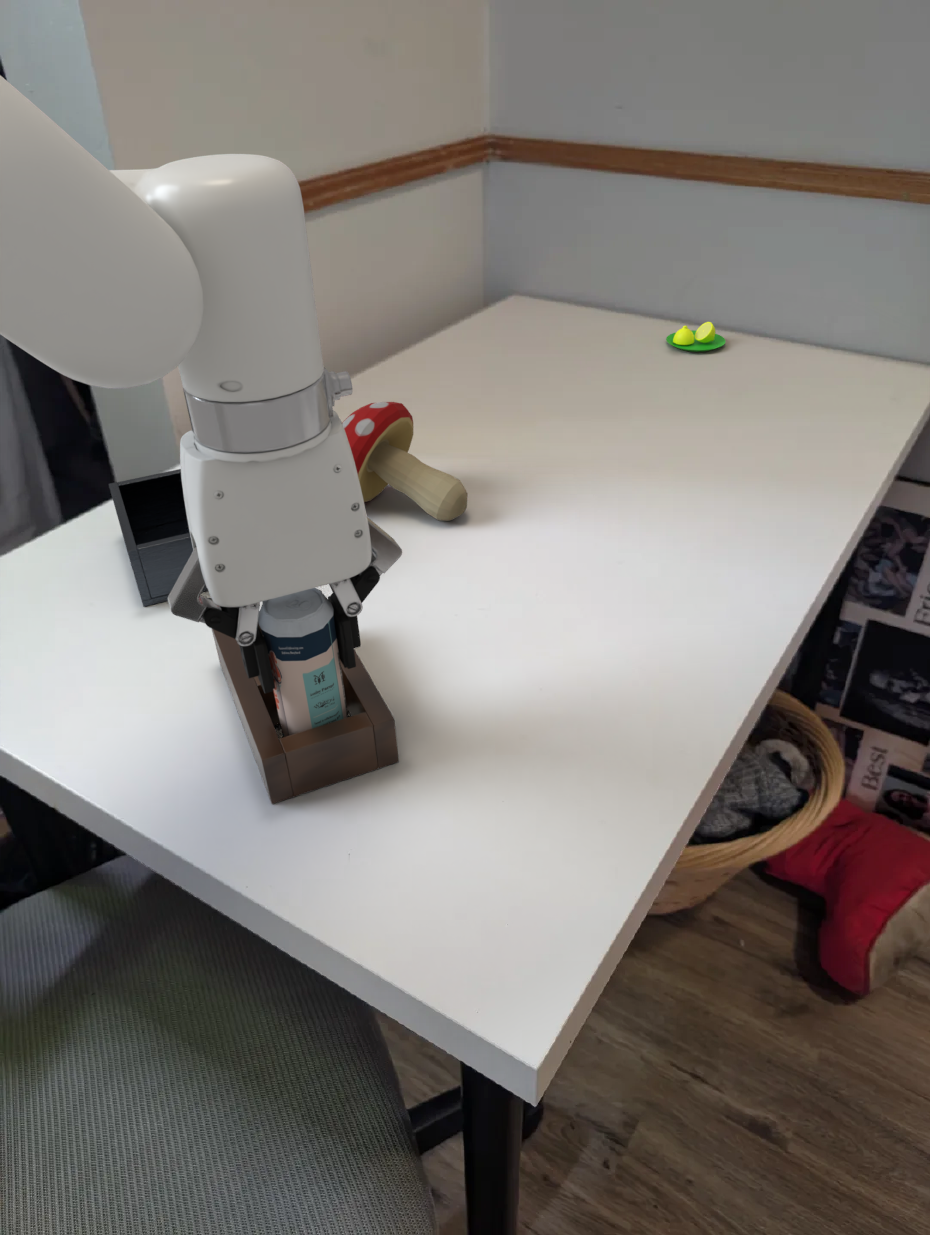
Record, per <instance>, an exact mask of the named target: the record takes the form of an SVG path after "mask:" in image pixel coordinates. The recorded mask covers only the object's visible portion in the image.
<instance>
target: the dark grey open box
mask: <svg viewBox="0 0 930 1235" xmlns="http://www.w3.org/2000/svg"><path fill="white" fill-rule="evenodd" d="M108 488H109V491H110V494H111V499H112V502H113V505H114V509H115V512H116V516H117V519H118V523H119V527H120V531H121V533H122V534H121V535H122V538H123V542H124V545H125V548H126V551H127V555H128V559H129V563H130V566H131V569H132V572H133V576H134V580H135V583H136V587H137V589H138V593H139V597H140V600H141V603H142V607H148V606H152V605H156V604H160V603H165V602H168V596H169V594H170V592H171V590H172V589H173V587H174V585H175V583H176V581H177V579H178V578H179V576H180V574H181V572H182V570H183V569H184V567H185V565H186V563H187V561H188V559H189V558H190V556H191V554H192V552H193V546H192V541H191V536H190V531H189V526H188V520H187V515H186V508H185V502H184V495H183V487H182V479H181V468H179V469H174V470H169V471H164V472H161V473H155V474H149V475H146V476H141V477H136V478H130V479H126V480H121V481H116V482H115V481H114V482H111V483H108ZM207 591H208V589H207V587H206V586H205V588H204V589H203V591H202V593H203V592H207ZM208 592H209V591H208Z"/></svg>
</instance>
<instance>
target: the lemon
mask: <svg viewBox="0 0 930 1235" xmlns="http://www.w3.org/2000/svg"><path fill="white" fill-rule="evenodd" d="M665 340H666V341H665V342H667V343H668V345H671V346H672V347H674V348H676V349H678V350H681V351H685V352H690V353H691V352H692V353H704V352H705V353H706V352H709V351H713V350H715V349H718V348H721V347H723V346H724V345H725V344H726V339H725V337H724V336H722V335H721V334H718V333H716V328H715V325H714V324H713V322H711V321H706V322H704V323H702V324H701V325H700V326H699V327H698V328H697V329H696V330H693V329H692V330H691V329H690V328H689V327H688V325H683V326H682V327H681V328H679V329H678V330H677V331H676V332H672V333H670V334H669V335H667V336H666V338H665Z"/></svg>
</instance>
